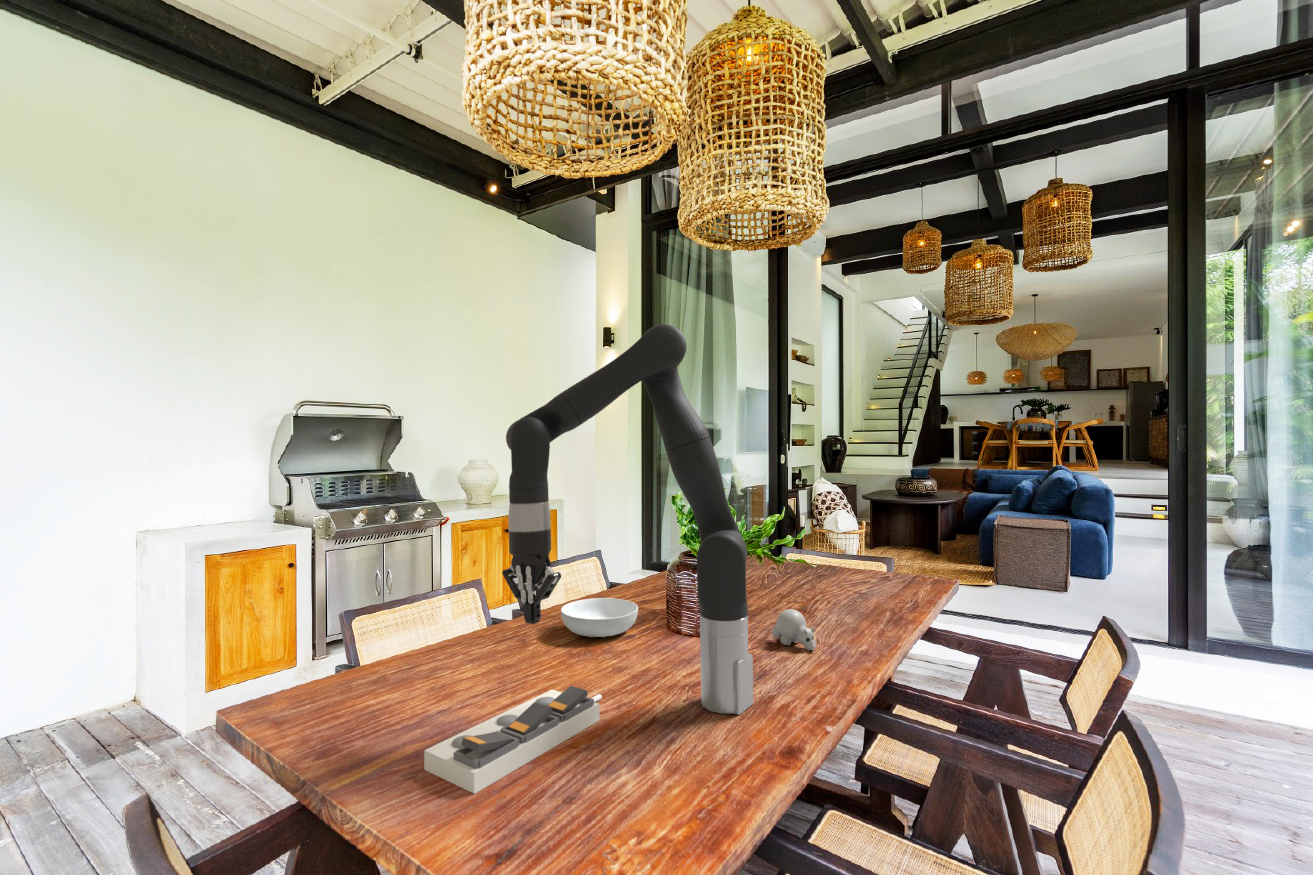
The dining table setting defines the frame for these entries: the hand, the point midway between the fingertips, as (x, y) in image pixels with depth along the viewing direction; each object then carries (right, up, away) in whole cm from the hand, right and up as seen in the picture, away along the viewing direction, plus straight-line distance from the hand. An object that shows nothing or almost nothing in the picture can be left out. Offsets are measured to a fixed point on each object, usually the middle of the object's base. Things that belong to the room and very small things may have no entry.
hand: (532, 622), depth 109 cm
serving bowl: (+7, -19, +53) cm, 57 cm away
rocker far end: (-4, -13, -16) cm, 21 cm away
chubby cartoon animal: (+57, -19, +40) cm, 72 cm away
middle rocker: (+2, -14, -9) cm, 16 cm away
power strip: (+1, -18, -4) cm, 19 cm away
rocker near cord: (+7, -14, -2) cm, 15 cm away
